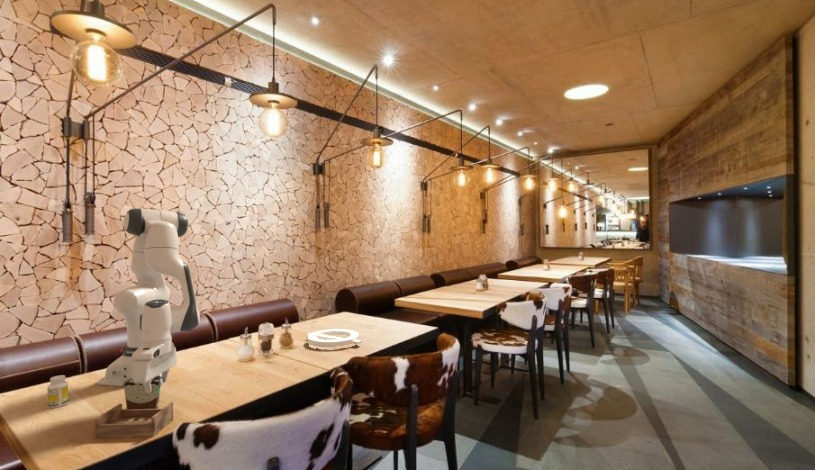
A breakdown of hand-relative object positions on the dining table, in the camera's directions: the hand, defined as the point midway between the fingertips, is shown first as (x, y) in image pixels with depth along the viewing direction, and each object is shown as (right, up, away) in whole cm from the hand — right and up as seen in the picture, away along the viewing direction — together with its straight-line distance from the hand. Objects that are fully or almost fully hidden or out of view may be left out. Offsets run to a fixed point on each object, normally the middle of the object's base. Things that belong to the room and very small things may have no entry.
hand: (156, 387), depth 135 cm
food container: (-4, -7, 0) cm, 8 cm away
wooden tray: (+4, -7, -16) cm, 18 cm away
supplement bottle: (-35, -7, +1) cm, 36 cm away
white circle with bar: (+46, -8, +81) cm, 94 cm away
